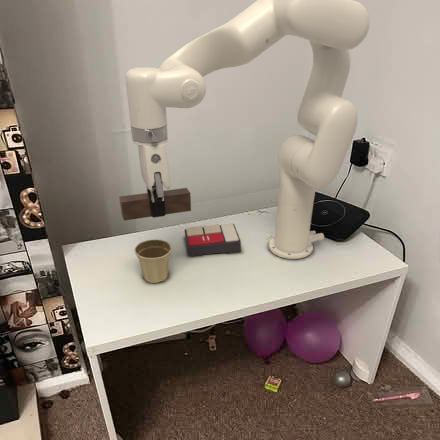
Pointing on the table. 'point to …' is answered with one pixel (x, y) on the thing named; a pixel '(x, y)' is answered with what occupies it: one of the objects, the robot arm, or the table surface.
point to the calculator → (212, 239)
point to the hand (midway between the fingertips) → (156, 211)
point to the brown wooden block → (141, 205)
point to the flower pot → (154, 259)
